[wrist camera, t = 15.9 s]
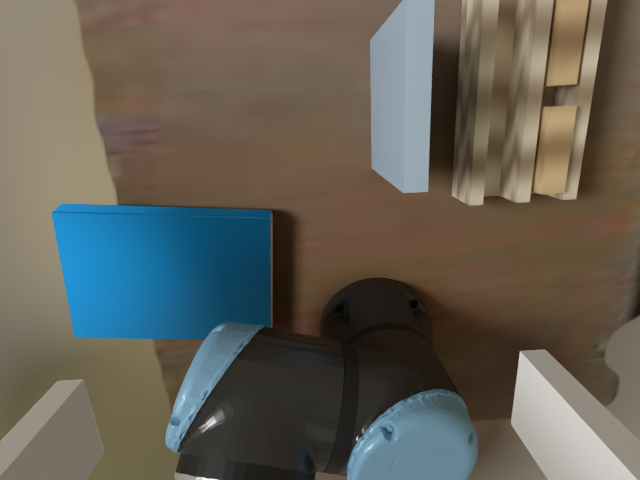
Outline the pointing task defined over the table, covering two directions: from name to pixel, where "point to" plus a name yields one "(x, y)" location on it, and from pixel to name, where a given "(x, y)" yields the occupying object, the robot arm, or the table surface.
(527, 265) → the table surface
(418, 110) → the pale blue panel
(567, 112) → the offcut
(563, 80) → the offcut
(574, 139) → the rack
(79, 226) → the book
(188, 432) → the robot arm
